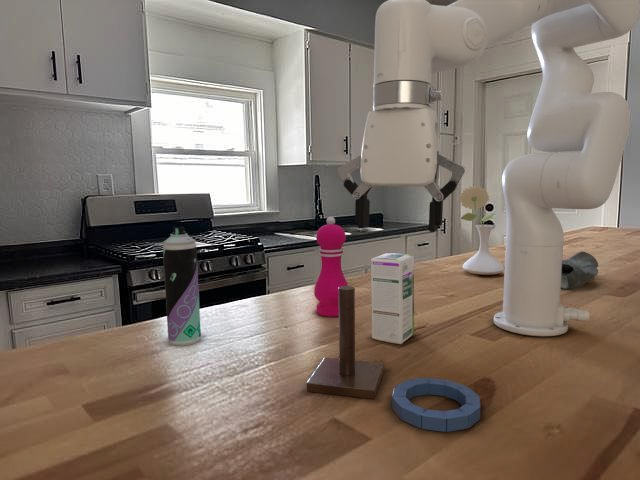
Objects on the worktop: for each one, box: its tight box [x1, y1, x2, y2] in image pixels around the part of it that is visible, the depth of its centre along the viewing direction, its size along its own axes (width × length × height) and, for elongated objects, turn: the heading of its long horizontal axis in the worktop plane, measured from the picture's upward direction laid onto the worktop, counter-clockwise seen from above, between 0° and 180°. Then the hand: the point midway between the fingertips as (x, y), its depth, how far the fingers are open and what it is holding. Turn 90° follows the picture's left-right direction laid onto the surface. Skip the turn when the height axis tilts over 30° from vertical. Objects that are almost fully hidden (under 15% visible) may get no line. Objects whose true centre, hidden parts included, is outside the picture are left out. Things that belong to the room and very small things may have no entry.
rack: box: [306, 285, 385, 400], centre depth 63 cm, size 9×9×13 cm
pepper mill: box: [313, 216, 349, 318], centre depth 95 cm, size 7×7×20 cm
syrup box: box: [370, 252, 415, 345], centre depth 80 cm, size 6×6×14 cm
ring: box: [391, 377, 481, 433], centre depth 56 cm, size 10×10×2 cm
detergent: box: [561, 251, 599, 290], centre depth 122 cm, size 13×7×25 cm
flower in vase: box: [458, 185, 505, 276], centre depth 131 cm, size 13×11×25 cm
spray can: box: [162, 226, 202, 347], centre depth 80 cm, size 6×6×20 cm
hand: (397, 229), depth 64 cm, fingers open, 9 cm apart
